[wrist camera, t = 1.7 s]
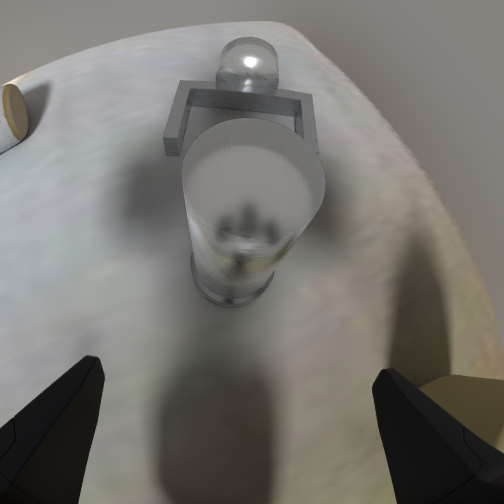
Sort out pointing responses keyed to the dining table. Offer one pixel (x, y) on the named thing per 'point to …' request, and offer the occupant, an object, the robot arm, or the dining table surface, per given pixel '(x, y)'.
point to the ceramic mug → (12, 117)
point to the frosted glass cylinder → (247, 204)
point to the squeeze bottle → (472, 404)
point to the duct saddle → (242, 92)
